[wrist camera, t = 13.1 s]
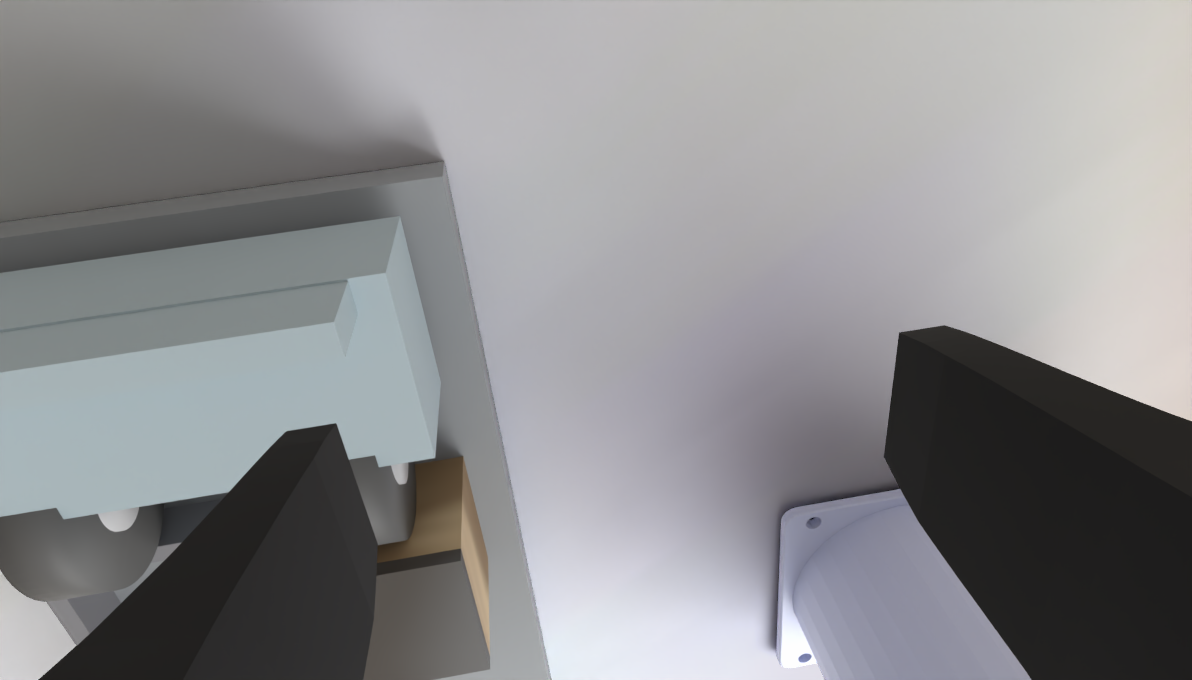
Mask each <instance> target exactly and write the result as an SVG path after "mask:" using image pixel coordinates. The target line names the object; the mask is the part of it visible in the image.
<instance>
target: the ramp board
mask: <svg viewBox="0 0 1192 680" xmlns="http://www.w3.org/2000/svg"><path fill="white" fill-rule="evenodd" d="M397 216H400V218H401V222H402V226H403V230H404V234H405V238H406V242H407V247H408V251H409V255H410V259H411V263H412V267H413V271H414V275H415V279H416V283H417V287H418V291H419V295H420V299H421V303H422V307H423V311H424V316H425V320H426V324H427V328H428V332H429V336H430V340H431V344H432V348H433V352H434V356H435V360H436V364H437V368H438V372H439V376H440V381H441V388H440V401H439V415H438V428H437V441H436V454H435V458H432V459H426V460H420V461H415V464H420V463H426V462H432V461H438V460H444V459H450V458H456V457H462V456H463V457H464V461H465V466H466V470H467V474H468V478H469V482H470V486H471V490H472V494H473V498H474V502H475V506H476V510H477V514H478V519H479V523H480V527H481V531H482V535H483V539H484V543H485V547H486V551H487V555H488V574H489V630H490V669H489V670H484V671H479V672H473V673H468V674H463V675H457V676H452V677H446V678H441V679H436V680H551V676H550V671H549V666H548V661H547V656H546V652H545V647H544V642H543V637H542V632H541V627H540V622H539V618H538V613H537V608H536V603H535V598H534V593H533V588H532V584H531V579H530V574H529V569H528V564H527V559H526V555H525V550H524V545H523V540H522V535H521V530H520V525H519V521H518V516H517V511H516V506H515V501H514V496H513V491H512V487H511V482H510V477H509V472H508V467H507V462H506V457H505V453H504V448H503V443H502V438H501V433H500V428H499V424H498V419H497V414H496V409H495V404H494V399H493V394H492V390H491V385H490V380H489V375H488V370H487V365H486V360H485V356H484V351H483V346H482V341H481V336H480V331H479V327H478V322H477V317H476V312H475V307H474V302H473V297H472V293H471V288H470V283H469V278H468V273H467V268H466V263H465V259H464V254H463V249H462V244H461V239H460V234H459V230H458V225H457V220H456V215H455V210H454V205H453V200H452V196H451V191H450V186H449V181H448V176H447V171H446V166H445V162H444V161H442V162H435V163H428V164H420V165H413V166H406V167H399V168H391V169H384V170H377V171H370V172H362V173H355V174H348V175H341V176H333V177H326V178H319V179H312V180H304V181H297V182H290V183H283V184H275V185H268V186H261V187H254V188H247V189H239V190H232V191H225V192H218V193H210V194H203V195H196V196H189V197H181V198H174V199H167V200H160V201H152V202H145V203H138V204H131V205H123V206H116V207H109V208H102V209H94V210H87V211H80V212H73V213H66V214H58V215H51V216H44V217H37V218H29V219H22V220H15V221H8V222H0V273H4V272H11V271H18V270H25V269H32V268H39V267H46V266H53V265H60V264H67V263H74V262H81V261H88V260H95V259H102V258H109V257H116V256H123V255H130V254H137V253H144V252H151V251H158V250H165V249H172V248H179V247H186V246H193V245H200V244H207V243H214V242H221V241H228V240H235V239H242V238H249V237H256V236H263V235H270V234H277V233H284V232H291V231H298V230H305V229H312V228H319V227H326V226H333V225H340V224H347V223H355V222H362V221H369V220H376V219H383V218H390V217H397ZM227 494H228V492H227V493H221V494H215V495H208V496H202V497H196V498H190V499H184V500H178V501H172V502H166V503H164V515H163V525H162V531H161V536H160V540H159V544H158V547H157V550H156V553H155V555H154V557H153V559H152V562H151V563H150V565H149V567H148V569H147V570H146V571H145V573H144V574H143V575H142V576H141V577H140V578H139V579H138V580H137V581H136V582H135V583H133V584H132V585H131V586H129V587H126V588H124V589H120V590H116V591H110V592H104V593H98V594H93V595H87V596H81V597H75V598H69V599H64V600H58V601H48V602H47V603H48V605H49V606H50V608H51V609H52V611H53V612H54V614H55V615H56V616H57V618H58V619H59V621H60V622H61V624H62V625H63V627H64V628H65V629H66V631H67V632H68V634H69V635H70V637H71V638H72V640H73V641H74V642H75V644H76V645H78V644H79V643H80V642H81V641H82V640H83V639H85V638H86V637H87V636H88V635H89V634H90V633H91V632H92V631H93V630H94V629H95V628H96V627H97V626H98V625H99V624H100V623H101V622H102V621H103V620H104V619H105V618H107V617H108V616H109V615H110V614H111V613H112V612H113V611H114V610H115V609H116V608H117V607H118V606H119V605H120V604H121V603H122V602H123V601H124V600H125V599H126V598H127V597H128V596H129V595H130V594H131V593H132V592H133V591H134V590H135V589H136V588H137V587H138V586H139V585H140V584H141V583H142V582H143V581H144V580H145V579H146V578H147V577H148V576H149V575H150V574H151V573H152V572H153V571H154V570H155V569H156V568H157V567H158V566H159V565H160V564H161V563H162V562H163V561H164V560H165V559H166V558H167V557H168V556H169V555H170V554H171V553H172V552H173V551H174V550H175V549H176V548H177V547H178V546H179V545H180V544H181V543H182V542H183V541H184V540H185V539H186V538H187V536H188V535H189V534H190V533H191V532H192V531H193V530H194V529H195V528H196V527H197V526H198V525H199V524H200V523H201V521H202V520H203V519H204V518H205V517H206V516H207V515H208V514H209V513H210V512H211V511H212V510H213V509H214V508H215V507H216V505H217V504H218V503H219V502H220V501H221V500H222V499H223V498H224V497H225V496H226V495H227Z"/></svg>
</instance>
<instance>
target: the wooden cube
mask: <svg viewBox="0 0 1192 680" xmlns="http://www.w3.org/2000/svg"><path fill="white" fill-rule="evenodd" d="M415 472H416V516H415V524H414V528H413V532H412V534H411V536H410V538H409V539H408V540H406V541H400V542H395V543H389V544H383V545H378V550H377V575H376V594H375V610H374V621H373V627H372V633H371V639H370V645H369V650H368V656H367V662H366V667H365V673H364V679H363V680H436V679H441V678H446V677H452V676H457V675H463V674H468V673H473V672H479V671H484V670H489V669H490V630H489V574H488V555H487V551H486V547H485V543H484V539H483V535H482V531H481V527H480V523H479V519H478V514H477V510H476V506H475V502H474V498H473V494H472V490H471V486H470V482H469V478H468V474H467V470H466V466H465V461H464V457H463V456H462V457H456V458H450V459H444V460H438V461H432V462H426V463H420V464H415Z"/></svg>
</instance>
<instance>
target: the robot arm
mask: <svg viewBox="0 0 1192 680" xmlns="http://www.w3.org/2000/svg"><path fill="white" fill-rule="evenodd" d="M884 458H885V460H886V462H887V464H888V466H889V468H890V470H891V471H892V473H893V475H894V477H895V479H896V481H897V483H898V485H899V487H900V489H897V490H891V491H886V492H880V493H874V494H869V495H863V496H857V497H851V498H846V499H840V500H834V501H829V502H823V503H817V504H812V505H806V506H800V507H795V508H792V509H790V510H788V511H787V512H785V514H784V515H783V516H782V519H781V536H780V564H779V592H778V620H777V648H776V656H777V659H778V661H779V664H780V665H781V666H782V667H785V668H794V667H799V666H804V665H810V664H815V663H817V664H818V666H819V668H820V671H821V673H822V675H823V677H824V679H825V680H1192V421H1189V420H1186V419H1184V418H1181V417H1178V416H1175V415H1172V414H1170V413H1167V412H1164V411H1162V410H1159V409H1157V408H1154V407H1151V406H1149V405H1146V404H1144V403H1141V402H1138V401H1136V400H1133V399H1131V398H1128V397H1126V396H1123V395H1121V394H1118V393H1116V392H1113V391H1111V390H1108V389H1106V388H1103V387H1101V386H1098V385H1096V384H1093V383H1091V382H1088V381H1086V380H1083V379H1081V378H1079V377H1076V376H1074V375H1071V374H1069V373H1066V372H1064V371H1062V370H1059V369H1057V368H1054V367H1052V366H1049V365H1047V364H1045V363H1042V362H1040V361H1037V360H1035V359H1033V358H1030V357H1028V356H1025V355H1023V354H1020V353H1018V352H1016V351H1013V350H1011V349H1008V348H1006V347H1003V346H1001V345H998V344H996V343H993V342H991V341H988V340H985V339H983V338H980V337H977V336H975V335H972V334H969V333H966V332H964V331H961V330H957V329H954V328H951V327H948V326H938V327H932V328H926V329H920V330H913V331H907V332H901V333H899V339H898V347H897V355H896V363H895V371H894V380H893V388H892V396H891V404H890V412H889V420H888V428H887V436H886V444H885V453H884ZM813 517H815V518H814V519H812V520H809V519H810V518H813ZM808 520H809V521H808ZM377 550H378V543H377V540H376V537H375V534H374V531H373V529H372V526H371V523H370V520H369V517H368V514H367V511H366V508H365V505H364V502H363V499H362V497H361V494H360V491H359V488H358V485H357V482H356V479H355V476H354V473H353V470H352V467H351V464H350V462H349V459H348V456H347V453H346V450H345V447H344V444H343V441H342V438H341V435H340V432H339V430H338V427H337V424H336V423H334V424H328V425H322V426H315V427H309V428H303V429H297V430H290V431H286V432H285V433H284V434H283V435H282V436H281V437H280V438H279V439H278V440H277V441H276V442H275V443H274V444H273V445H272V446H271V447H270V448H269V449H268V450H267V451H266V452H265V453H264V454H263V455H262V456H261V457H260V459H259V460H258V461H257V462H256V463H255V464H254V465H253V466H252V467H251V468H250V469H249V471H248V472H247V473H246V474H245V475H244V476H243V477H242V478H241V479H240V480H239V482H238V483H237V484H236V485H235V486H234V487H233V488H232V489H231V490H230V491H229V492H228V494H227V495H226V496H225V497H224V498H223V499H222V500H221V501H220V502H219V503H218V504H217V505H216V507H215V508H214V509H213V510H212V511H211V512H210V513H209V514H208V515H207V516H206V517H205V518H204V519H203V520H202V521H201V523H200V524H199V525H198V526H197V527H196V528H195V529H194V530H193V531H192V532H191V533H190V534H189V535H188V536H187V538H186V539H185V540H184V541H183V542H182V543H181V544H180V545H179V546H178V547H177V548H176V549H175V550H174V551H173V552H172V553H171V554H170V555H169V556H168V557H167V558H166V559H165V560H164V561H163V562H162V563H161V564H160V565H159V566H158V567H157V568H156V569H155V570H154V571H153V572H152V573H151V574H150V575H149V576H148V577H147V578H146V579H145V580H144V581H143V582H142V583H141V584H140V585H139V586H138V587H137V588H136V589H135V590H134V591H133V592H132V593H131V594H130V595H129V596H128V597H127V598H126V599H125V600H124V601H123V602H122V603H121V604H120V605H119V606H118V607H117V608H116V609H115V610H114V611H113V612H112V613H111V614H110V615H109V616H108V617H107V618H105V619H104V620H103V621H102V622H101V623H100V624H99V625H98V626H97V627H96V628H95V629H94V630H93V631H92V632H91V633H90V634H89V635H88V636H87V637H86V638H85V639H83V640H82V641H81V642H80V643H79V644H78V645H77V646H76V647H75V648H74V649H73V650H71V651H70V652H69V653H68V654H67V655H66V656H65V657H64V658H63V659H61V660H60V661H59V662H58V663H57V664H56V665H55V666H54V667H52V668H51V669H50V670H49V671H48V672H47V673H46V674H45V675H43V676H42V677H41V678H40V679H39V680H363V679H364V673H365V667H366V662H367V656H368V650H369V645H370V639H371V633H372V627H373V621H374V610H375V594H376V575H377Z"/></svg>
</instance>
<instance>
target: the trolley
mask: <svg viewBox="0 0 1192 680" xmlns="http://www.w3.org/2000/svg"><path fill="white" fill-rule="evenodd" d="M440 388H441V381H440V376H439V372H438V368H437V364H436V360H435V356H434V352H433V348H432V344H431V340H430V336H429V332H428V328H427V324H426V320H425V316H424V311H423V307H422V303H421V299H420V295H419V291H418V287H417V283H416V279H415V275H414V271H413V267H412V263H411V259H410V255H409V251H408V247H407V242H406V238H405V234H404V230H403V226H402V222H401V218H400V216H397V217H390V218H383V219H376V220H369V221H362V222H355V223H347V224H340V225H333V226H326V227H319V228H312V229H305V230H298V231H291V232H284V233H277V234H270V235H263V236H256V237H249V238H242V239H235V240H228V241H221V242H214V243H207V244H200V245H193V246H186V247H179V248H172V249H165V250H158V251H151V252H144V253H137V254H130V255H123V256H116V257H109V258H102V259H95V260H88V261H81V262H74V263H67V264H60V265H53V266H46V267H39V268H32V269H25V270H18V271H11V272H4V273H0V570H1V571H2V573H3V574H4V576H5V577H6V579H7V580H8V581H9V582H10V583H11V585H12V586H14V587H15V588H16V589H17V590H18V591H19V592H21V593H22V594H24V595H26V596H27V597H29V598H32V599H34V600H38V601H44V602H48V601H58V600H64V599H69V598H75V597H81V596H87V595H93V594H98V593H104V592H110V591H116V590H120V589H124V588H126V587H129V586H131V585H132V584H133V583H135V582H136V581H137V580H138V579H139V578H140V577H141V576H142V575H143V574H144V573H145V571H146V570H147V569H148V567H149V565H150V563H151V562H152V559H153V557H154V555H155V553H156V550H157V547H158V544H159V540H160V536H161V531H162V525H163V515H164V503H166V502H172V501H178V500H184V499H190V498H196V497H202V496H208V495H215V494H221V493H227V492H229V491H230V490H231V489H232V488H233V487H234V486H235V485H236V484H237V483H238V482H239V480H240V479H241V478H242V477H243V476H244V475H245V474H246V473H247V472H248V471H249V469H250V468H251V467H252V466H253V465H254V464H255V463H256V462H257V461H258V460H259V459H260V457H261V456H262V455H263V454H264V453H265V452H266V451H267V450H268V449H269V448H270V447H271V446H272V445H273V444H274V443H275V442H276V441H277V440H278V439H279V438H280V437H281V436H282V435H283V434H284V433H285V432H286V431H290V430H297V429H303V428H309V427H315V426H322V425H328V424H334V423H336V424H337V427H338V430H339V432H340V435H341V438H342V441H343V444H344V447H345V450H346V453H347V456H348V459H349V462H350V464H351V467H352V470H353V473H354V476H355V479H356V482H357V485H358V488H359V491H360V494H361V497H362V499H363V502H364V505H365V508H366V511H367V514H368V517H369V520H370V523H371V526H372V529H373V531H374V534H375V537H376V540H377V543H378V545H383V544H389V543H395V542H400V541H406V540H408V539H409V538H410V536H411V534H412V532H413V528H414V524H415V516H416V472H415V461H420V460H426V459H432V458H435V454H436V441H437V428H438V415H439V401H440Z"/></svg>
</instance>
